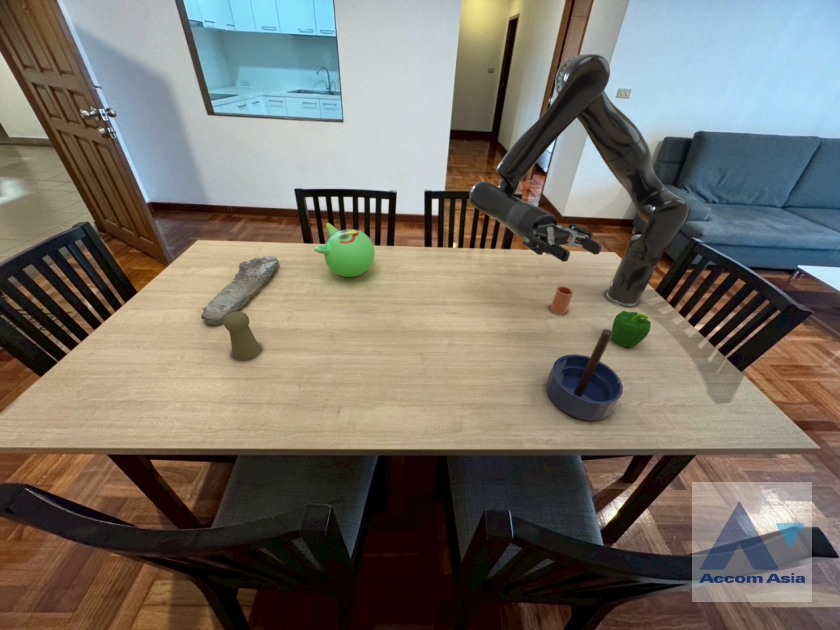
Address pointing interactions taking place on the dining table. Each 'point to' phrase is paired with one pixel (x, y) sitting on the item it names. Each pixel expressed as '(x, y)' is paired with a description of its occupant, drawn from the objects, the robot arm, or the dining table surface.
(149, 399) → the dining table surface
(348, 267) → the toy bird
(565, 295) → the utensil cup
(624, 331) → the bell pepper
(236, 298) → the long grey stone
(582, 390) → the stirring stick
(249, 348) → the olive brown pawn
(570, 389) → the blue bowl
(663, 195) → the robot arm
